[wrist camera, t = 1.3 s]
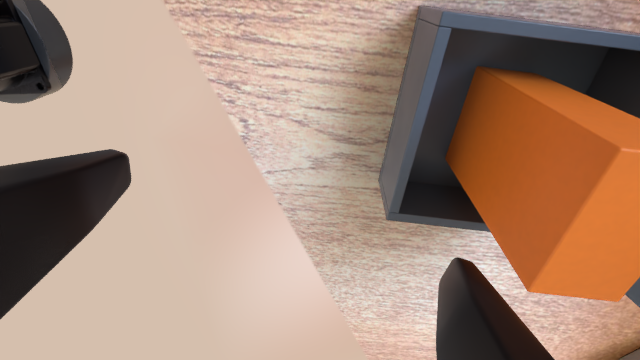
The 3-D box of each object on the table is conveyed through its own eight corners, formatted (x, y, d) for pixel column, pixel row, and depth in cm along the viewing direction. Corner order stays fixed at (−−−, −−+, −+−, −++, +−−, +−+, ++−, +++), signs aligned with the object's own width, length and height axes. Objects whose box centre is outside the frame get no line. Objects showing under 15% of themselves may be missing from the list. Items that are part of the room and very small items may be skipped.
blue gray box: (378, 180, 23) (386, 220, 19) (419, 5, 18) (442, 10, 14) (531, 198, 24) (570, 241, 20) (621, 30, 18) (701, 43, 14)
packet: (444, 158, 22) (527, 292, 12) (476, 65, 19) (620, 148, 9) (496, 164, 22) (619, 302, 12) (536, 72, 19) (742, 162, 9)
